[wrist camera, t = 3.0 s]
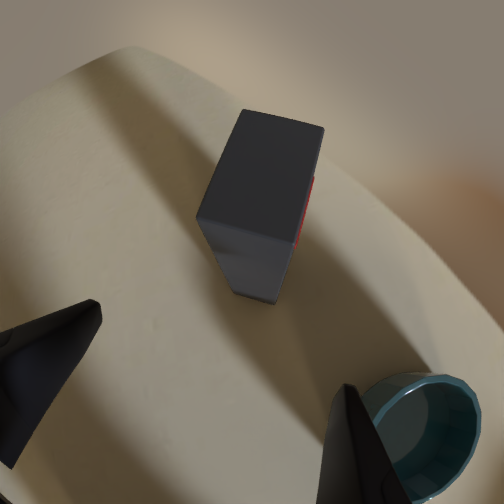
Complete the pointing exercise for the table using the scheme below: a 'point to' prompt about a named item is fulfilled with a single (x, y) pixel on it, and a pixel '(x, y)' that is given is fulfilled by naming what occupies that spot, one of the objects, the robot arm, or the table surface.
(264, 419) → the table surface
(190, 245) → the table surface
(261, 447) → the table surface
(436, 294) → the table surface
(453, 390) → the teal shallow round dish
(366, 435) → the robot arm
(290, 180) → the black rectangular box
